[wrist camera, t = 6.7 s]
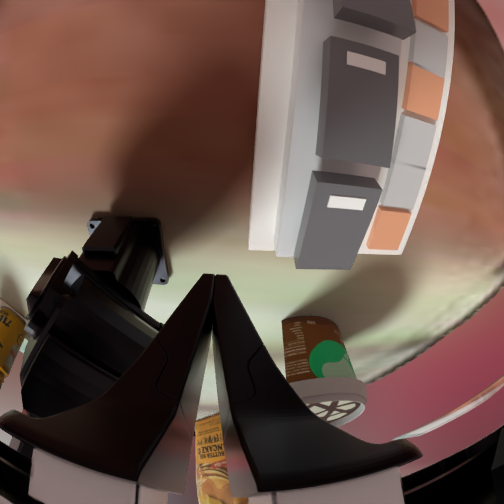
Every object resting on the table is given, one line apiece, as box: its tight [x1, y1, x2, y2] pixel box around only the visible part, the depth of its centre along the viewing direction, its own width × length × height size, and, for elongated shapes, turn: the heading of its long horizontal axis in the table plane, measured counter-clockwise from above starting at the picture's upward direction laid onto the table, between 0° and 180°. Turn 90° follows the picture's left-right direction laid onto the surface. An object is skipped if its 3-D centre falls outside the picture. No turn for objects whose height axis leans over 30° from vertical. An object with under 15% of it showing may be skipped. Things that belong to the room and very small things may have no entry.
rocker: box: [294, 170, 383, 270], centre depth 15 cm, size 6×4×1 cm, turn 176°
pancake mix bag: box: [195, 413, 249, 504], centre depth 36 cm, size 7×19×28 cm, turn 138°
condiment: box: [0, 299, 31, 389], centre depth 24 cm, size 7×8×12 cm
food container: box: [282, 316, 366, 427], centre depth 25 cm, size 12×6×10 cm, turn 27°
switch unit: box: [248, 0, 455, 257], centre depth 13 cm, size 23×13×4 cm, turn 176°
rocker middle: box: [315, 36, 399, 168], centre depth 11 cm, size 6×4×1 cm, turn 177°
